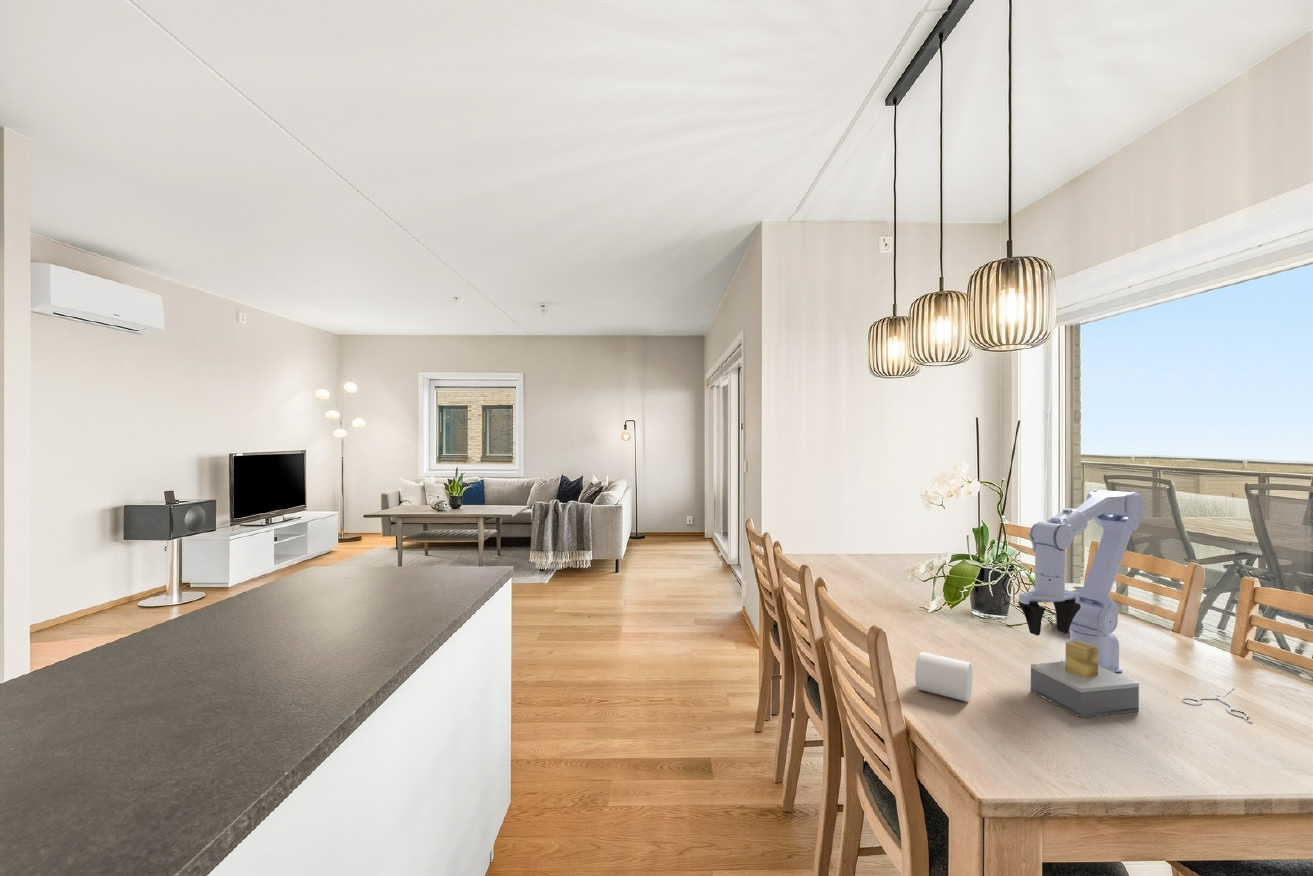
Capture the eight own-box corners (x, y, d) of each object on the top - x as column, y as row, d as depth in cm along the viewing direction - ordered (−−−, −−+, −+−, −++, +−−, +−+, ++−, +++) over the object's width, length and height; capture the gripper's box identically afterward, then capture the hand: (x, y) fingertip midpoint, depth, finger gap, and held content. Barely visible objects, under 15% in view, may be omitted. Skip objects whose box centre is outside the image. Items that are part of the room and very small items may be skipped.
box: (1084, 685, 128) (1084, 663, 128) (1138, 711, 116) (1138, 687, 116) (1030, 691, 125) (1030, 668, 125) (1080, 718, 113) (1081, 693, 113)
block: (1078, 667, 123) (1078, 640, 123) (1097, 675, 120) (1098, 646, 120) (1065, 670, 122) (1065, 642, 122) (1085, 678, 118) (1085, 649, 118)
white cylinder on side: (966, 708, 118) (966, 670, 118) (914, 694, 124) (914, 658, 124) (976, 687, 127) (976, 652, 127) (927, 675, 133) (927, 642, 133)
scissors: (1178, 703, 119) (1190, 674, 132) (1178, 706, 119) (1190, 678, 132) (1252, 722, 111) (1257, 690, 124) (1252, 726, 111) (1257, 693, 124)
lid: (1084, 663, 128) (1084, 659, 128) (1138, 687, 116) (1138, 683, 116) (1030, 668, 125) (1030, 664, 125) (1081, 692, 113) (1081, 688, 113)
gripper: (1061, 569, 137) (1059, 625, 137) (1008, 571, 134) (1007, 628, 134) (1088, 576, 130) (1087, 636, 130) (1033, 578, 127) (1032, 639, 127)
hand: (1048, 633), depth 132 cm, fingers open, 7 cm apart
